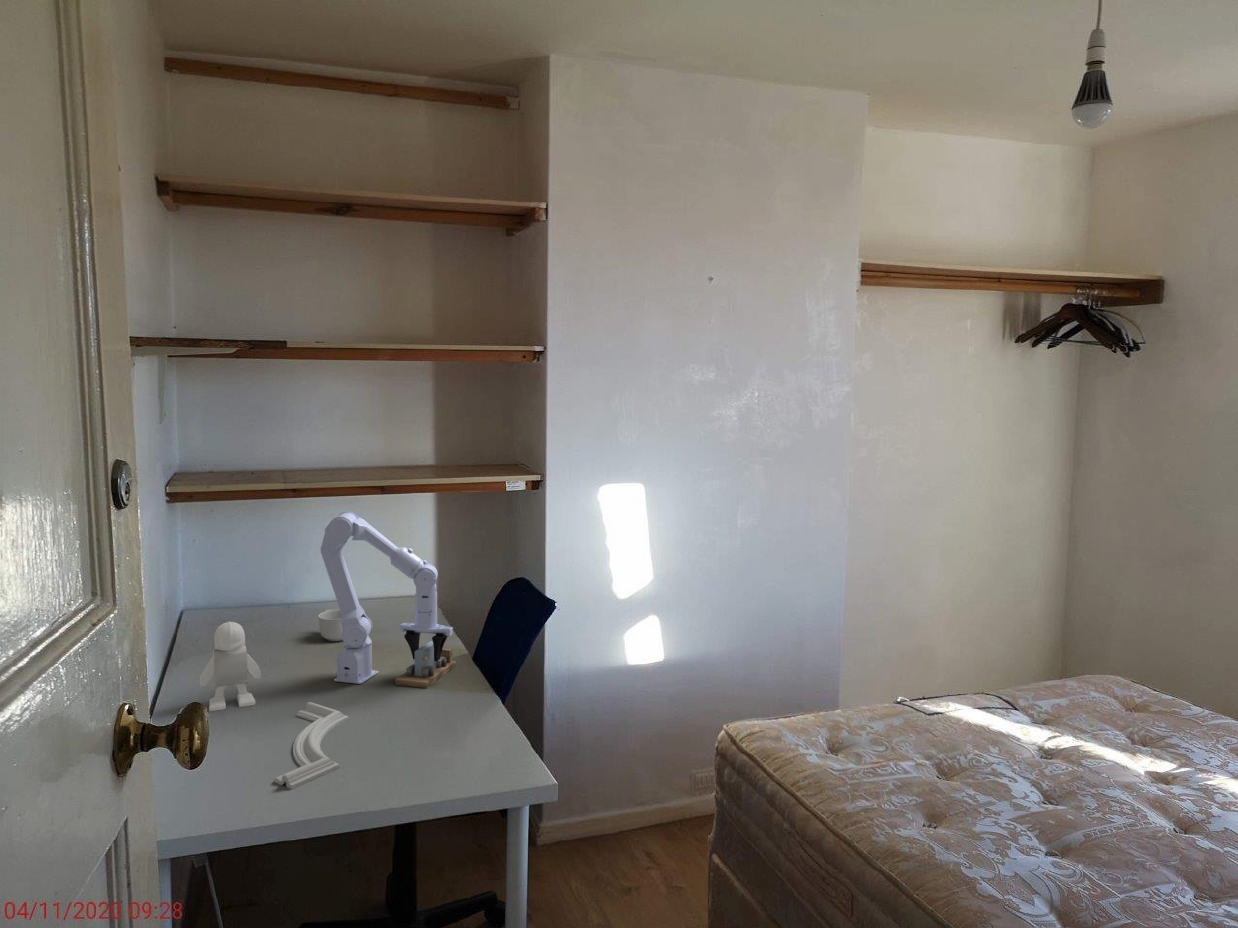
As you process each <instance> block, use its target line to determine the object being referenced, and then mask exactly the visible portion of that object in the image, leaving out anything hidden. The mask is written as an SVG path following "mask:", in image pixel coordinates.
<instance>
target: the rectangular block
mask: <svg viewBox="0 0 1238 928" xmlns="http://www.w3.org/2000/svg"><path fill="white" fill-rule="evenodd" d="M414 664H415V676H423V669H425V668H426V667H428V666H433V668H434V667H435V666H436V661H434V646H433V641H432V640H430V641H429V642H427V643H426V644H424V645H422V646H421V647H419V649H418V650H416V651H415V659H414Z"/></svg>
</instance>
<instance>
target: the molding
mask: <svg viewBox="0 0 1238 928" xmlns="http://www.w3.org/2000/svg"><path fill="white" fill-rule="evenodd" d="M296 717H298V718H301V719H305V720H308V721H310V722H311V723H310V724H308V725H307V726H306V727H305V728H304V729H302V730H301V731H300V733H298V734H297V736H296V738H295V740H294V742H293V745H292V755H293V759H294V761H295V762H296V764H297V765H298V766H299V767H297V768H295V769H293V770H291V771H288V772H286V773H284V774H281V775H279V776H277V777H275V778H273V783H276V784H278V785H281V786H283V785H284V784H285V785H286V786H285V787H286V788H287V789H290V790H292V789H295V788H297V787H301V786H302V785H304V784H306V783H309V782H311V781H313V780H316V779H317V778H319V777H321V776H324V775H325V774H328V773H330V772H332V771H335V770H337V769H339V768H340V763H337V762H336V761H333V760H332V759H331V758H330V757H328V756H326V755H325V754H324V752H323V751H322V748H321V742H322V741H323V739H324V738H325V736H326V735H327V734H328V733H329V732H330V731H331V730H332V729H333V728H335V727H337V726H338V725H341V724H342V723H344V722H346V721H348V720H349V719H350V717H349V716H348V715H345V714H343V713H342V712H341V711H339V710H338V709H337V710H336V709H334V708H330V707H327V706H324V705H321V704H318V703H314V702H311V701H308V702H307V703H306V704H305V709H304V710H303V709H301V710H297V713H296Z"/></svg>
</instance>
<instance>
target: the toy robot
mask: <svg viewBox="0 0 1238 928" xmlns="http://www.w3.org/2000/svg"><path fill="white" fill-rule="evenodd" d="M213 638H214V643H213V645H214V648H212V649H213V650H212V657H211V658H210V660H209V661H208V662H207V664H206V665H205V667H204V668H203V670H202V672H201V674H200V677H199V679H198V680H199V686H200V688H203V687H205V686H206V685H207V684H208V683H209V682H210V681H211V679H212V677H213V686H214V688H215V693H214V695H213V697H212V698H209V705H208V707H209V708H208V709H209V712H214V711H221V710H226V709H227V707H226V697H225V690H226V689H227V687H228V686H233V685H235V687H236V688H237V691H238V692H237V694H236V700H237V703H238V707H239V708H241V707H250V706H255V705H256V699H255V698H254V696H253V694H252V692H248V690H247V686H246V684H248V678H249V677H248V674H251V676H252V677H253V678H254V679H256V680H261V679H262V671H261V669H260V667H259V665H258V664H257V662H256V661H255V660H254V659H253V658H252V657H251V655H249V653H248V651H247V646H246V635H245V630H244V628H243V626H242V625H241V623H237V622H235V621H227V622H223V623H222V624H219V626H217V628H216V630H215V632H214V637H213ZM248 672H249V673H248Z"/></svg>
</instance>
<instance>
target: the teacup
mask: <svg viewBox="0 0 1238 928" xmlns="http://www.w3.org/2000/svg"><path fill="white" fill-rule="evenodd" d="M317 618H318V626H319V628H318V629H319V632H320V633H319V634H320V636H321V637H323V638H324V639H326V640H327V641H329V642H340V641H341V642H343V638H342V633H343V627H342V624H341V611H340V608H335V609H329V608H328V609H327V608H326V609H324V610H323V611H322V612H320V613H319V614H318V615H317Z"/></svg>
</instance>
